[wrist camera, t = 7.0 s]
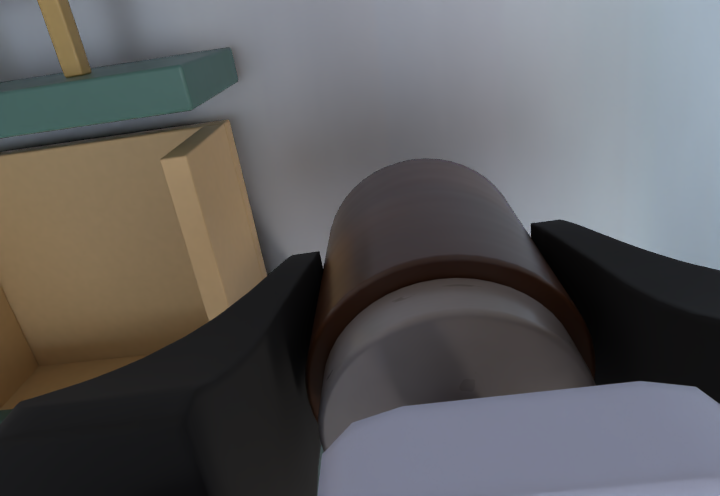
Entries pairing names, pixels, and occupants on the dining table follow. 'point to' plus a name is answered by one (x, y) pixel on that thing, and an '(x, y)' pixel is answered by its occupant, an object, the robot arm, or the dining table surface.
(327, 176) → the dining table surface
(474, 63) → the dining table surface
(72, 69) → the drawer
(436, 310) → the pepper mill
